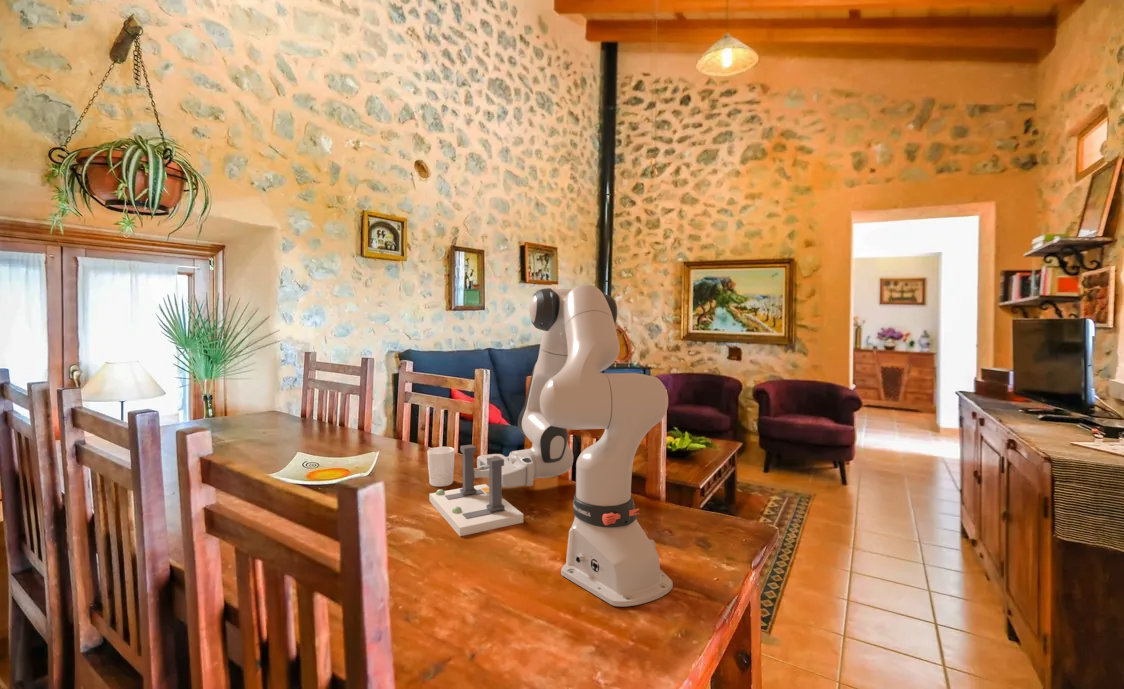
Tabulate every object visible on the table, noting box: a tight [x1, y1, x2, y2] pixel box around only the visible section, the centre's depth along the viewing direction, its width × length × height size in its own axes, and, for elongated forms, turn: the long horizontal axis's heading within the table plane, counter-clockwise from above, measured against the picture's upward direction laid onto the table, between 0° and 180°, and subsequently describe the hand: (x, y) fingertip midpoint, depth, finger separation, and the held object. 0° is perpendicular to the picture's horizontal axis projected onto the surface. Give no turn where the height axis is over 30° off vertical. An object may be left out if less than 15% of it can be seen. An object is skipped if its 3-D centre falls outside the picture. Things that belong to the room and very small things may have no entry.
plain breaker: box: [487, 456, 505, 512], centre depth 126 cm, size 3×4×12 cm
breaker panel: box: [428, 483, 524, 537], centre depth 131 cm, size 25×16×3 cm, turn 30°
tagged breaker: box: [459, 444, 477, 495], centre depth 137 cm, size 3×4×12 cm
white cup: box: [427, 446, 456, 488], centre depth 152 cm, size 8×8×10 cm
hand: (472, 473), depth 138 cm, fingers closed, pressing on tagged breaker
